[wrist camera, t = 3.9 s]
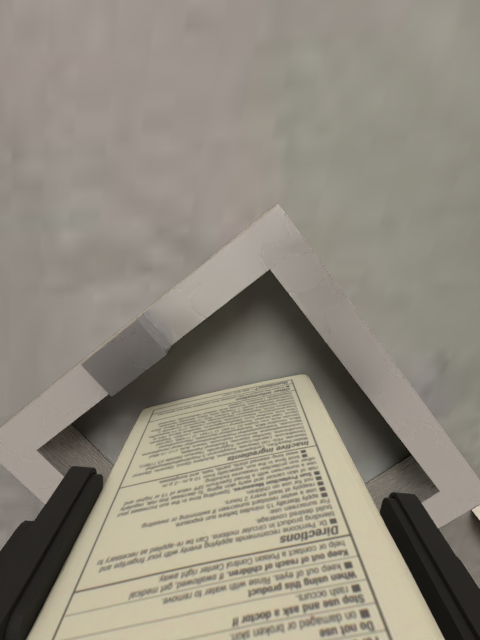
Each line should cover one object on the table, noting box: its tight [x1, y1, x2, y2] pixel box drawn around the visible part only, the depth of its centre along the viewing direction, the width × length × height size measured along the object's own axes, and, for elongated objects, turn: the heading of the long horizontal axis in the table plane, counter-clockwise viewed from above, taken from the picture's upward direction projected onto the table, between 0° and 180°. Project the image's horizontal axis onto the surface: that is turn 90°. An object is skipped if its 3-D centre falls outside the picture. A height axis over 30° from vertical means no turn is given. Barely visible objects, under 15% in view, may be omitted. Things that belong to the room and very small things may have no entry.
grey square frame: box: [0, 204, 480, 529], centre depth 13 cm, size 11×11×3 cm
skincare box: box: [26, 374, 445, 640], centre depth 8 cm, size 6×4×12 cm
